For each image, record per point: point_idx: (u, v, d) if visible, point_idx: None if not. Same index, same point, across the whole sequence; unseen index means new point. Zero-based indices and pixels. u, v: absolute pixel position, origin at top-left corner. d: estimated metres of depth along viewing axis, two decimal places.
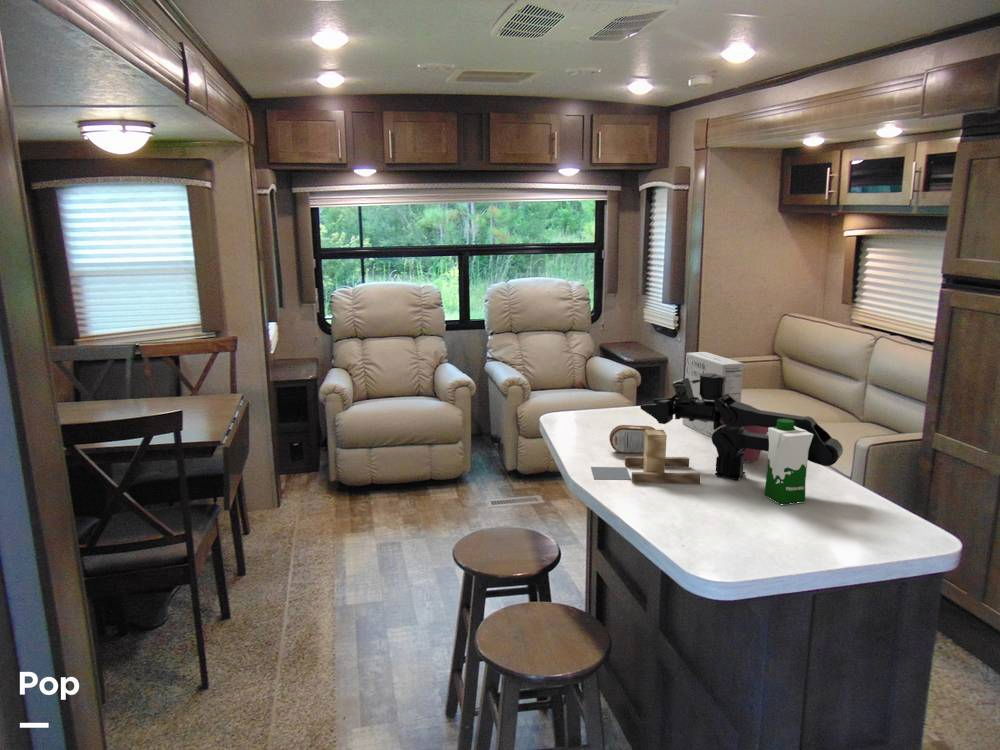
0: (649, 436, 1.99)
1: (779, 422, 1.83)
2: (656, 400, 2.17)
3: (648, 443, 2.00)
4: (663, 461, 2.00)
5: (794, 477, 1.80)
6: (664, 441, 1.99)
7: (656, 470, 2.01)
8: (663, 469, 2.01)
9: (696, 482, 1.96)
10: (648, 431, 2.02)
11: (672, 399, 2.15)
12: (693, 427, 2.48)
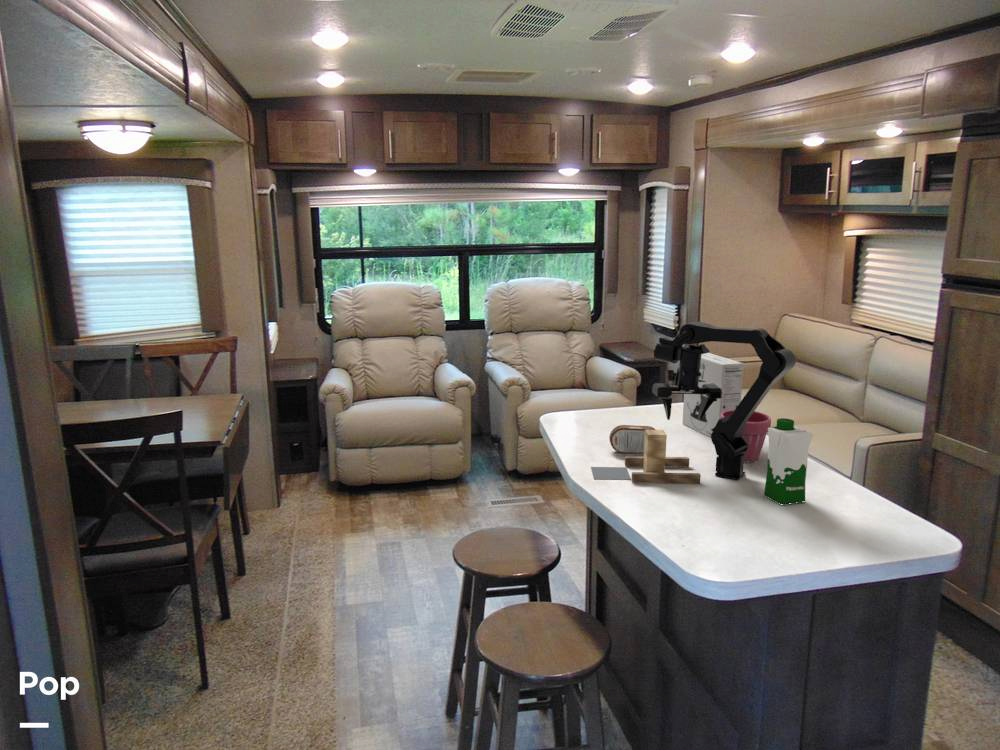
0: (649, 436, 1.99)
1: (779, 422, 1.83)
2: (698, 416, 2.11)
3: (648, 443, 2.00)
4: (663, 461, 2.00)
5: (794, 477, 1.80)
6: (664, 441, 1.99)
7: (656, 470, 2.01)
8: (663, 469, 2.01)
9: (696, 482, 1.96)
10: (648, 431, 2.02)
11: (701, 400, 2.11)
12: (693, 427, 2.48)
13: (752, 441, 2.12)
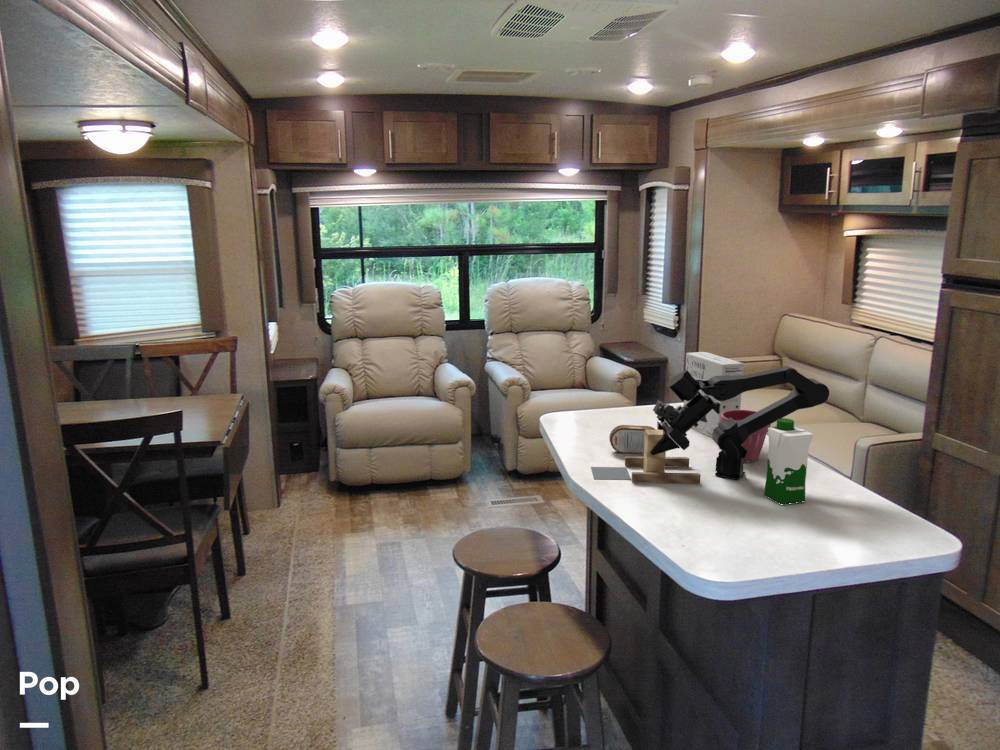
0: (649, 436, 1.99)
1: (779, 422, 1.83)
2: None
3: (648, 443, 2.00)
4: (663, 461, 2.00)
5: (794, 477, 1.80)
6: None
7: (656, 470, 2.01)
8: (663, 469, 2.01)
9: (696, 482, 1.96)
10: (648, 431, 2.02)
11: None
12: (693, 427, 2.48)
13: (752, 441, 2.12)
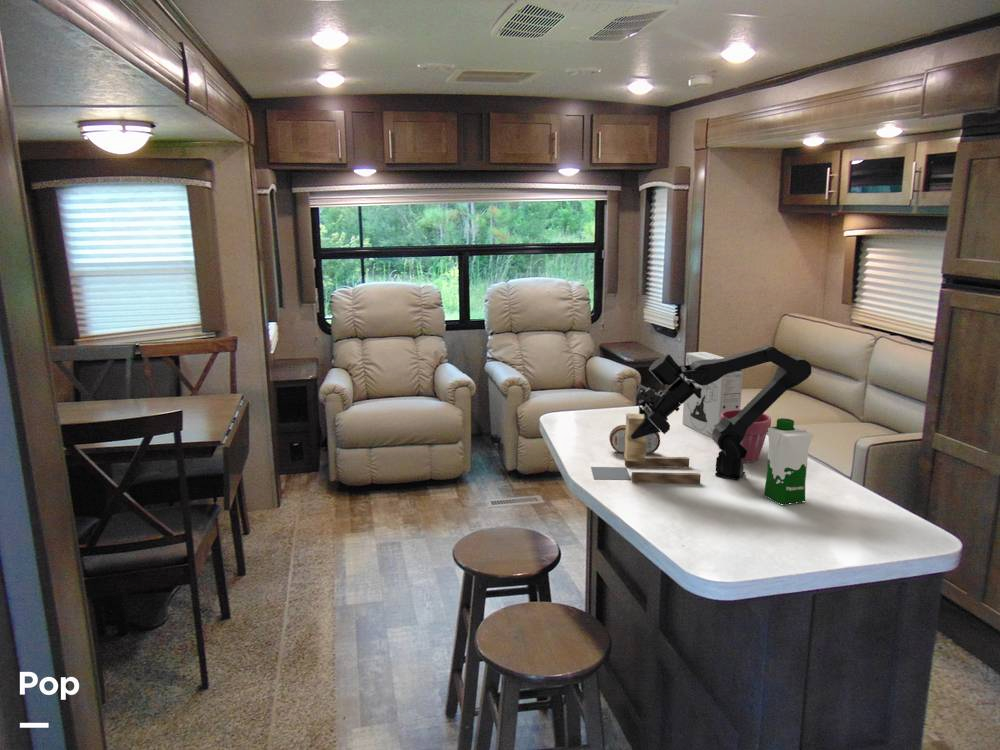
0: (630, 420, 1.98)
1: (779, 422, 1.83)
2: None
3: (629, 427, 1.99)
4: (644, 445, 2.00)
5: (794, 477, 1.80)
6: None
7: (637, 454, 2.00)
8: (644, 453, 2.00)
9: (696, 482, 1.96)
10: (629, 415, 2.01)
11: None
12: (693, 427, 2.48)
13: (752, 441, 2.12)
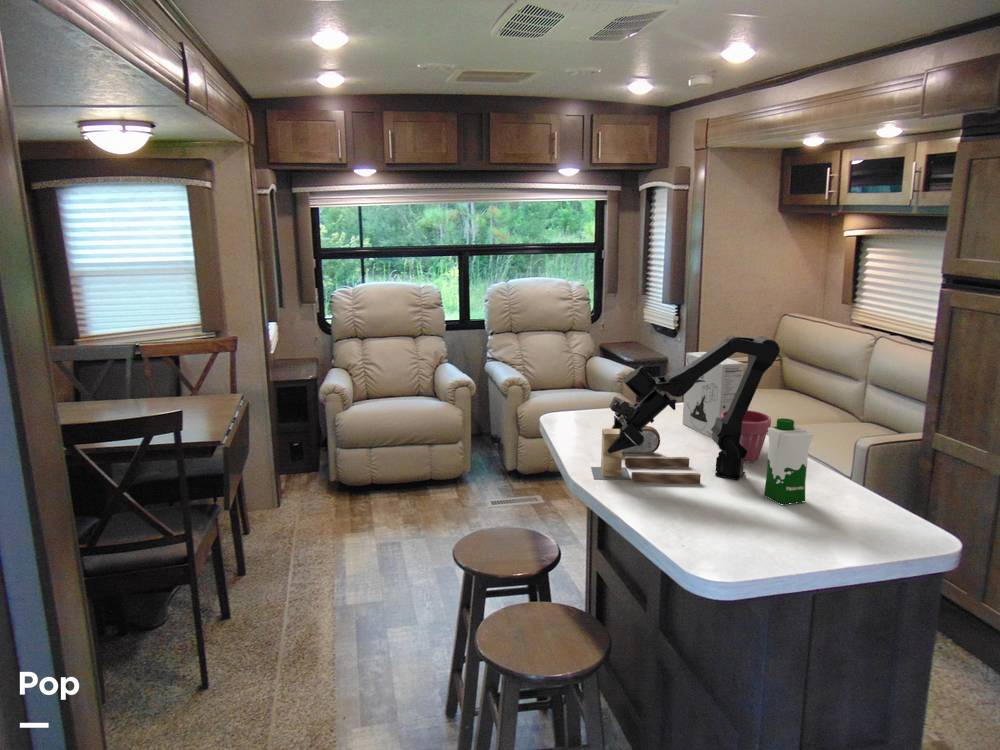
0: (605, 435, 1.99)
1: (779, 422, 1.83)
2: None
3: (604, 442, 2.00)
4: (620, 460, 2.01)
5: (794, 477, 1.80)
6: None
7: (613, 469, 2.01)
8: (620, 468, 2.01)
9: (696, 482, 1.96)
10: (605, 430, 2.02)
11: (616, 425, 2.06)
12: (693, 427, 2.48)
13: (752, 441, 2.12)
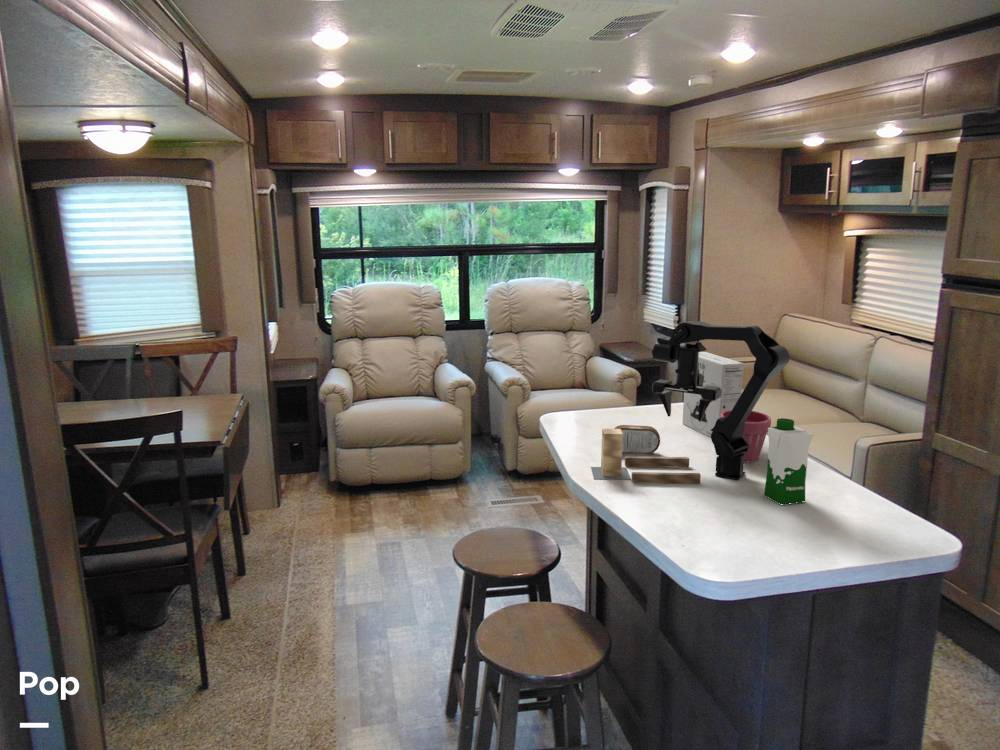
0: (605, 435, 1.99)
1: (779, 422, 1.83)
2: None
3: (604, 442, 2.00)
4: (620, 460, 2.01)
5: (794, 477, 1.80)
6: (620, 440, 1.99)
7: (613, 469, 2.01)
8: (620, 468, 2.01)
9: (696, 482, 1.96)
10: (605, 430, 2.02)
11: None
12: (693, 427, 2.48)
13: (752, 441, 2.12)
